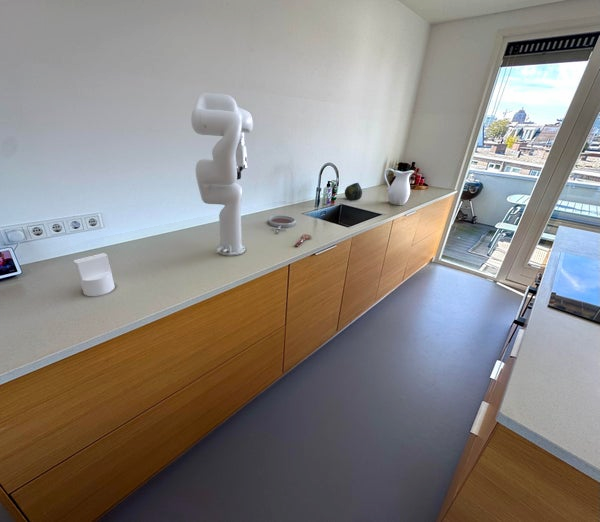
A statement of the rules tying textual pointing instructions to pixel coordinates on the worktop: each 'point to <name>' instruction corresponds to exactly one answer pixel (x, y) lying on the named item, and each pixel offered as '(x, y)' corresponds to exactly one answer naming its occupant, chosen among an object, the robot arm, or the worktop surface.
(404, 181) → the pitcher
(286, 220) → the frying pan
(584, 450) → the worktop surface
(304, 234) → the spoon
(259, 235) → the worktop surface
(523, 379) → the worktop surface
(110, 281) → the cylinder with rectangular tab
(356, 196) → the squash
